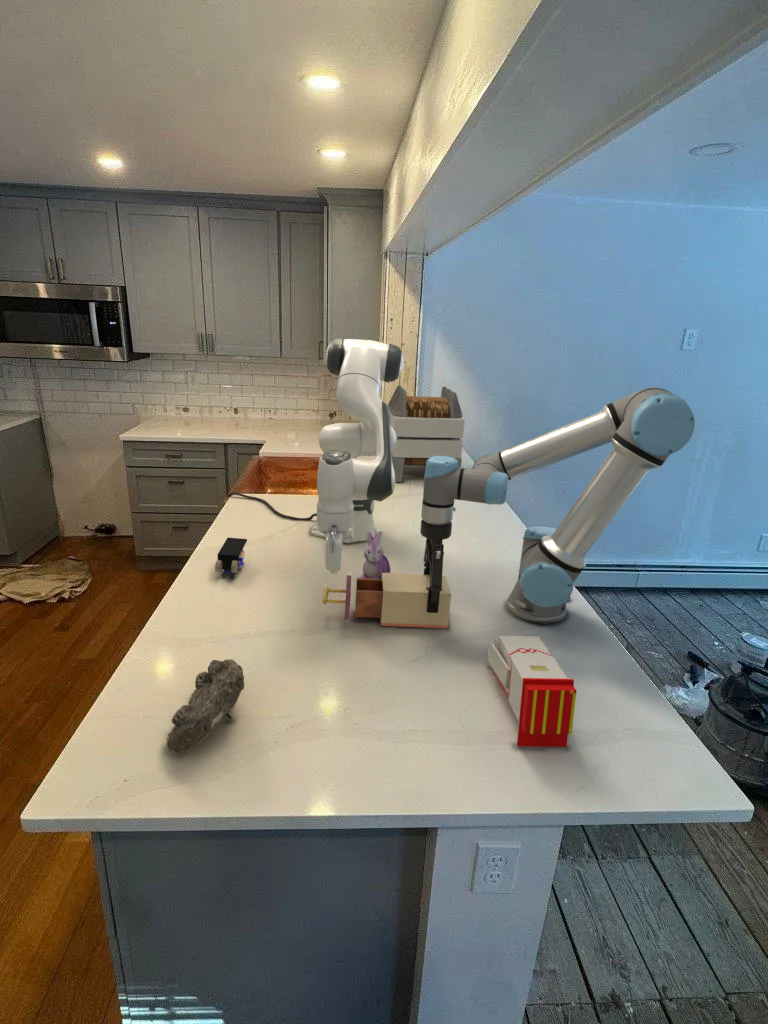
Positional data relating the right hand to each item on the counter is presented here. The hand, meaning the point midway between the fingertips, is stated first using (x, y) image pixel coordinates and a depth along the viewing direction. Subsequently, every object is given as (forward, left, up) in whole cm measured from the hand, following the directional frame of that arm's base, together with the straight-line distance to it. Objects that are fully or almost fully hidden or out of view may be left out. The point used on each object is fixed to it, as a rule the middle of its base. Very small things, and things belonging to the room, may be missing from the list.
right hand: (429, 601), depth 145 cm
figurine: (+10, -22, -5) cm, 25 cm away
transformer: (-32, -133, -5) cm, 137 cm away
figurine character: (+51, -34, -5) cm, 61 cm away
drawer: (+16, -3, -3) cm, 17 cm away
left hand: (+24, -4, +8) cm, 26 cm away
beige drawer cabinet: (+4, -1, -5) cm, 6 cm away
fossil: (+51, +31, -5) cm, 60 cm away
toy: (-11, +34, -5) cm, 36 cm away
